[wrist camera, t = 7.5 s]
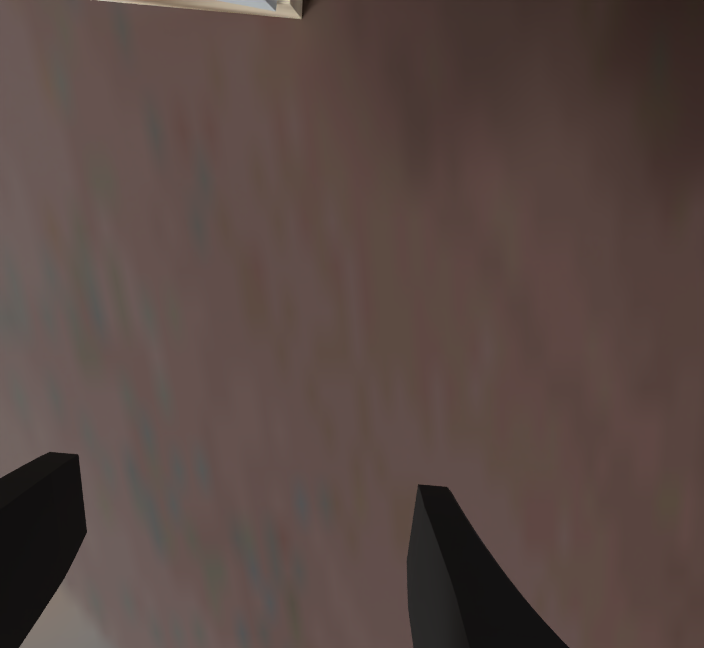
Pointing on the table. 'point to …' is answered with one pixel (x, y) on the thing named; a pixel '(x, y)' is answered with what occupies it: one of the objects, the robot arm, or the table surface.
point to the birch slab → (227, 6)
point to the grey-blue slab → (255, 3)
